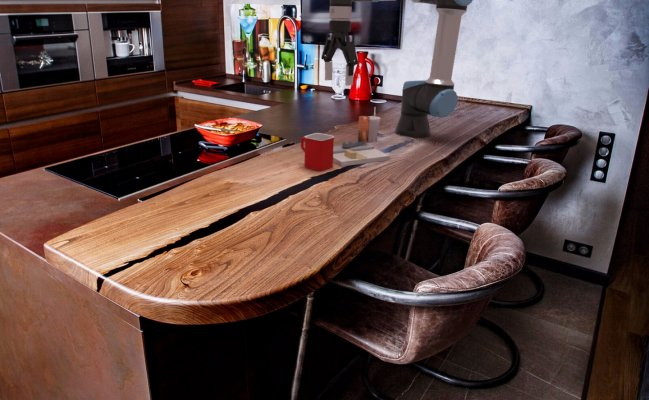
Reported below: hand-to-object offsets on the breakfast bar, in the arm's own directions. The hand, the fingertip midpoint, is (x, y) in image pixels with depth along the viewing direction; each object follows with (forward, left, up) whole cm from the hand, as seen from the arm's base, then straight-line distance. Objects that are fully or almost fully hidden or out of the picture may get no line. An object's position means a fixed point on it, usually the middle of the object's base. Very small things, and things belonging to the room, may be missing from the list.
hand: (338, 82), depth 177 cm
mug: (+15, +12, -26) cm, 32 cm away
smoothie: (-22, -10, -26) cm, 36 cm away
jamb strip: (-3, +3, -26) cm, 26 cm away
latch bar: (-7, +3, -23) cm, 24 cm away
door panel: (-3, +11, -26) cm, 29 cm away
